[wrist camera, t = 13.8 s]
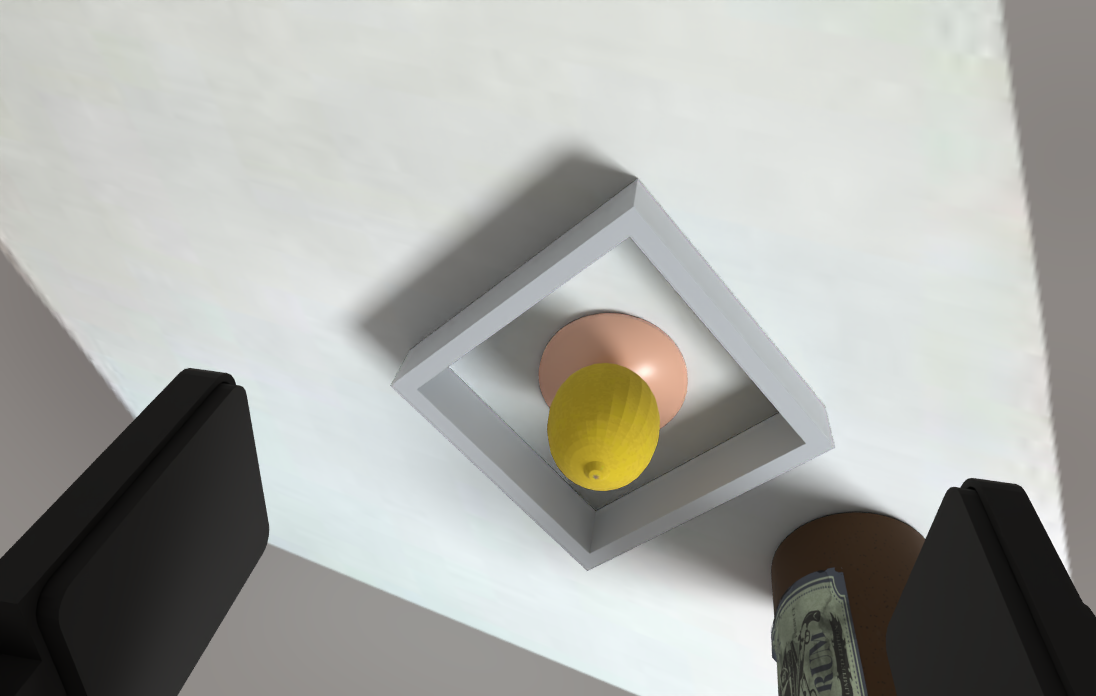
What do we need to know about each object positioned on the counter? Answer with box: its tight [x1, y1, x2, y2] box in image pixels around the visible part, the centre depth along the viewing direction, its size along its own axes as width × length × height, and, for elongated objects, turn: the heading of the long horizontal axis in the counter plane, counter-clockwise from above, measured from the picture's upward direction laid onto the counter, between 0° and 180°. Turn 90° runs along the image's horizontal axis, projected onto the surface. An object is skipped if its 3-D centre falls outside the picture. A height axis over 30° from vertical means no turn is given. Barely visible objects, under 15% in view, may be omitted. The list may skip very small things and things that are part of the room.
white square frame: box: [390, 179, 835, 571], centre depth 42 cm, size 16×16×4 cm
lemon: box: [547, 363, 660, 491], centre depth 40 cm, size 6×6×8 cm
